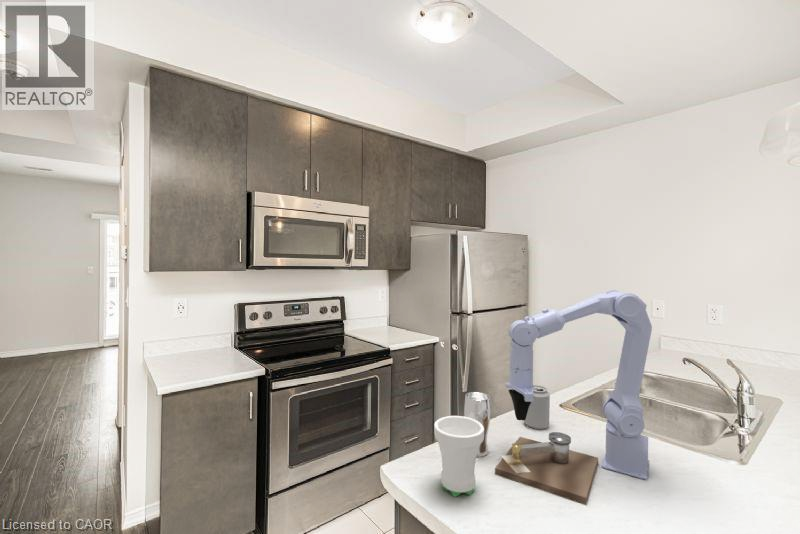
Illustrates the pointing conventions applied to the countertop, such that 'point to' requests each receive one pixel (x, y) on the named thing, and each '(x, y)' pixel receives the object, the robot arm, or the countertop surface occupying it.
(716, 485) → the countertop surface
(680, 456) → the countertop surface
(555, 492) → the brown flat wooden board
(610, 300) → the robot arm
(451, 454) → the cup
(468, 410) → the beer glass
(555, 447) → the grey bar with knobs
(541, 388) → the can
